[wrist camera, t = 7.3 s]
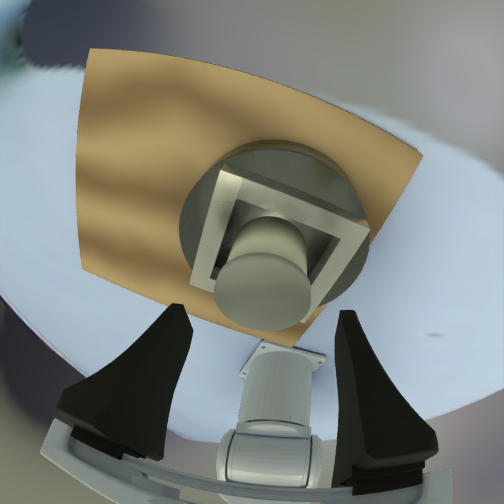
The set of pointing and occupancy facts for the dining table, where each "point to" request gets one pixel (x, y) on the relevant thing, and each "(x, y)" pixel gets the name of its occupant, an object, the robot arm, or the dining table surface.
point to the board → (199, 164)
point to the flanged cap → (265, 276)
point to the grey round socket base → (277, 213)
